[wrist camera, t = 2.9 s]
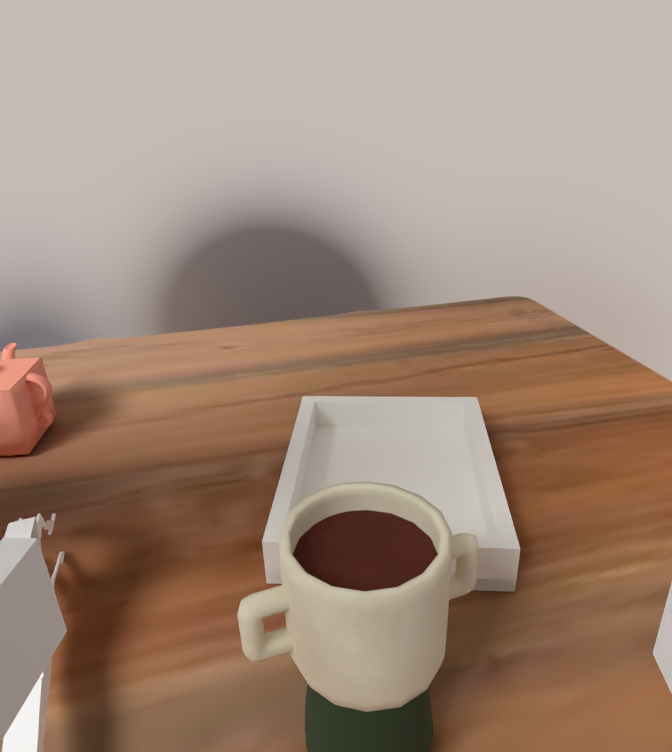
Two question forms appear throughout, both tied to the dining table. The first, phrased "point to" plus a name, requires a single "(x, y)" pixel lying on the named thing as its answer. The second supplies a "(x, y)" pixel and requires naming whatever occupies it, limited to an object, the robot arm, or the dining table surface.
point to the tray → (402, 469)
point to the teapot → (23, 403)
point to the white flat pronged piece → (29, 724)
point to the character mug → (363, 612)
